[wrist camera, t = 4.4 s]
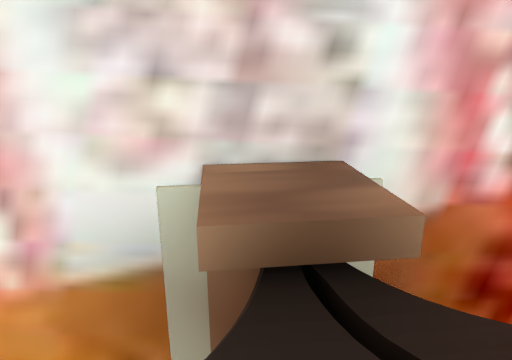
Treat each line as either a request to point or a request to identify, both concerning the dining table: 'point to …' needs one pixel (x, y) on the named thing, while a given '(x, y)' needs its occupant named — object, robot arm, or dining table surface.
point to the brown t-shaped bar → (292, 226)
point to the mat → (191, 272)
